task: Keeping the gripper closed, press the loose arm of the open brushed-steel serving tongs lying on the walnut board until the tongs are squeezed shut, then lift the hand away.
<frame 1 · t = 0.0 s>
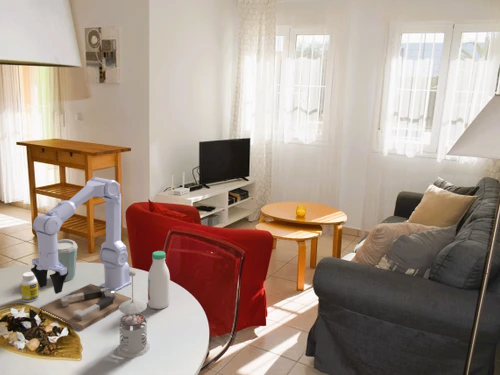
hand: (50, 289, 139), 10 cm above the table, tool pointing down, fingers open, 7 cm apart
supplement bottle: (30, 299, 153), on the table
tongs fixed arm: (110, 301, 154), resting on cutting board
disposable coffee cup: (65, 278, 170), on the table
tongs arm: (89, 297, 150), point 3 cm above the table, hinge at 30.0°
milk bottle: (158, 304, 153), on the table
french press: (133, 346, 128), on the table
cutting board: (87, 306, 149), on the table
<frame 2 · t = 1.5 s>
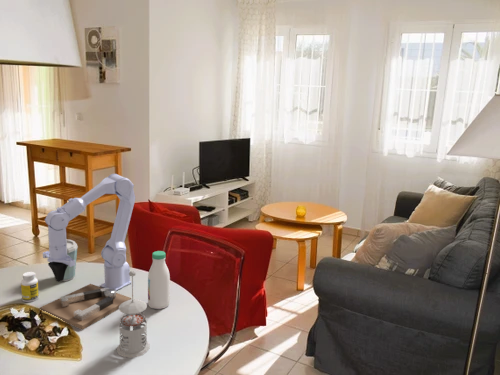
hand: (59, 280, 151), 8 cm above the table, tool pointing down, fingers closed
nothing on the table moved.
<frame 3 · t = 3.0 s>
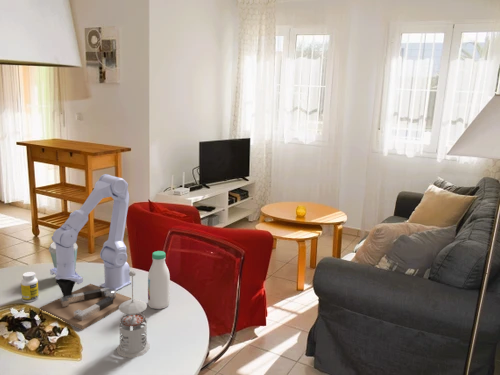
hand: (67, 297, 150), 2 cm above the table, tool pointing down, fingers closed
tongs arm: (89, 297, 150), point 3 cm above the table, hinge at 30.0°, touching gripper
everything else where it was.
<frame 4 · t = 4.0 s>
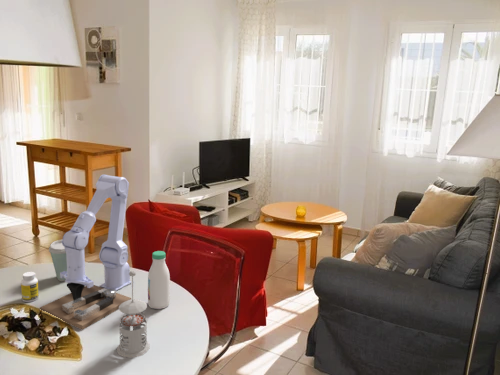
hand: (77, 301, 148), 3 cm above the table, tool pointing down, fingers closed
tongs arm: (91, 300, 148), point 3 cm above the table, hinge at 8.9°, touching gripper
everything else where it was.
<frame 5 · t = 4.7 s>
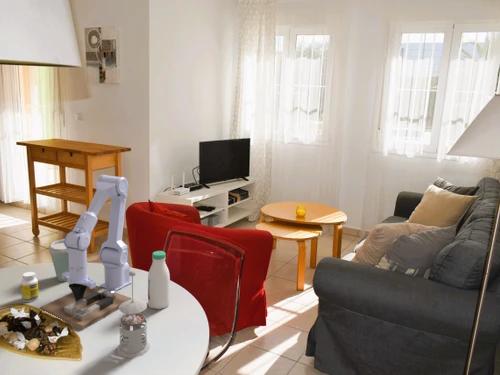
hand: (79, 301, 147), 3 cm above the table, tool pointing down, fingers closed
tongs arm: (92, 301, 148), point 3 cm above the table, hinge at 2.1°, touching gripper
everything else where it was.
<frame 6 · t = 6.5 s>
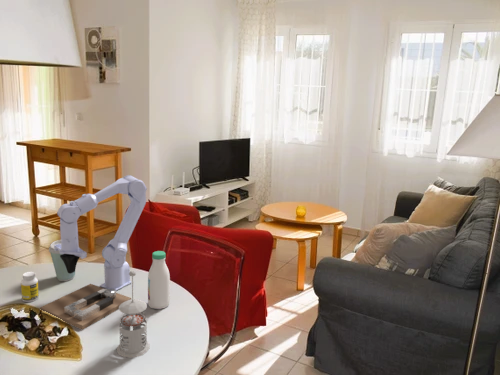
hand: (71, 272, 154), 9 cm above the table, tool pointing down, fingers closed
tongs arm: (92, 301, 148), point 3 cm above the table, hinge at 2.0°
everything else where it was.
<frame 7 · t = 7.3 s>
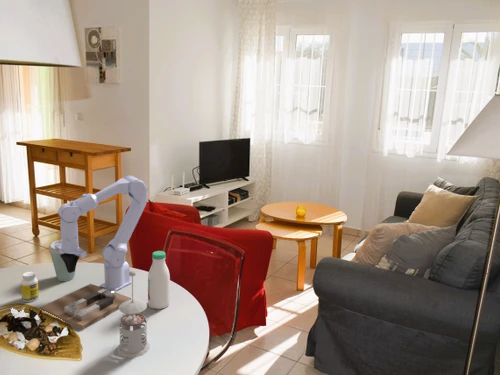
hand: (71, 271, 155), 9 cm above the table, tool pointing down, fingers closed
nothing on the table moved.
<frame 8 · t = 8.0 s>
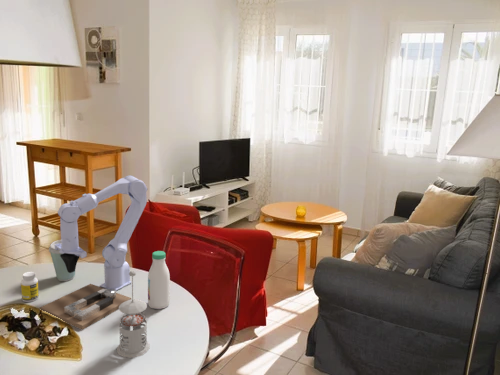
hand: (71, 271, 155), 9 cm above the table, tool pointing down, fingers closed
nothing on the table moved.
at the end: tongs arm at +2° (first picture: +30°) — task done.
